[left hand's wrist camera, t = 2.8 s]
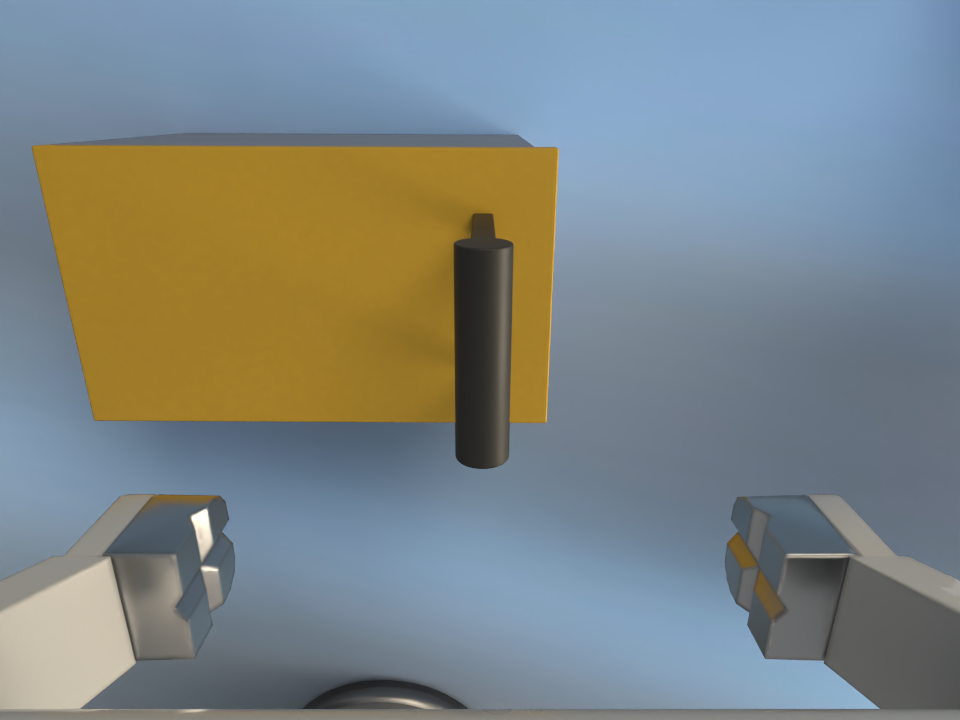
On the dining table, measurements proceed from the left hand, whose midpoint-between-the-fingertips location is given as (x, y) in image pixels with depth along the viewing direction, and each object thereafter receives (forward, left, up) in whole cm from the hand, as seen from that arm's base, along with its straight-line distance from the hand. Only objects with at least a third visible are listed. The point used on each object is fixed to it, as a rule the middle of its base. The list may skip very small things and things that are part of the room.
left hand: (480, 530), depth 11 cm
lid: (+3, -5, -14) cm, 16 cm away
